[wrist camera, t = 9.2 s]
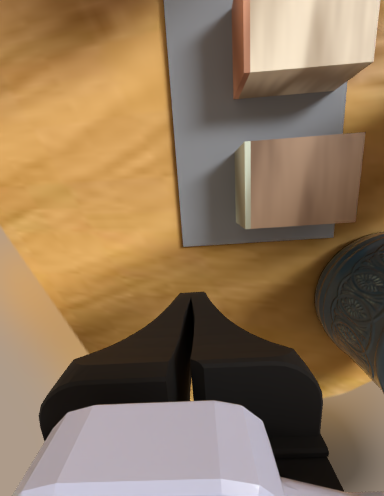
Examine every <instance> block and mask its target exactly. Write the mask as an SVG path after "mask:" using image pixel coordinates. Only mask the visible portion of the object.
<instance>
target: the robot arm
mask: <svg viewBox="0 0 384 496" xmlns="http://www.w3.org/2000/svg"><path fill="white" fill-rule="evenodd" d="M191 377H192V386H193V398H194V401H190V386H191ZM322 406H323V399H322V391H321V389H320V387H319V384H318V382H317V380H316V379H315V377H314V376H313V374H312V373H311V371H310V370H309V368H308V367H307V366H306V364H305V363H304V361H303V360H302V359H301V358H300V357H299V355H298V354H297V353H296V352H295V350H294V349H292V348H288V347H285V346H282V345H279V344H275V343H272V342H269V341H267V340H264V339H262V338H259V337H257V336H255V335H253V334H251V333H249V332H247V331H245V330H244V329H242V328H240V327H238V326H237V325H235V324H234V323H233V322H231V321H230V320H228V319H227V318H226V317H225V316H224V315H223V314H222V313H221V312H220V311H219V310H218V309H217V308H216V307H215V306H214V305H213V304H212V302H211V301H210V300H209V298H208V297H207V295H206V293H204V292H191V293H180V294H179V295H178V296H177V297H176V298H175V300H174V301H173V302H172V303H171V304H170V305H169V306H168V307H167V308H166V310H165V311H163V312H162V313H161V314H160V315H159V316H158V317H157V318H156V319H155V320H153V321H152V322H151V323H150V324H148V325H147V326H145V327H144V328H143V329H141V330H139V331H138V332H136V333H134V334H133V335H131V336H129V337H128V338H126V339H124V340H122V341H120V342H118V343H116V344H114V345H111V346H109V347H107V348H104V349H102V350H100V351H97V352H94V353H91V354H88V355H86V356H83V357H80V358H77V359H74V360H73V362H72V363H71V364H70V365H69V366H68V368H67V369H66V370H65V372H64V373H63V374H62V376H61V377H60V379H59V380H58V381H57V383H56V384H55V385H54V387H53V388H52V389H51V391H50V392H49V394H48V395H47V396H46V398H45V400H44V401H43V403H42V404H41V408H40V413H39V421H40V427H41V431H42V434H43V438H44V441H45V442H44V444H43V445H42V447H41V449H40V450H39V452H38V454H37V455H36V457H35V459H34V460H33V462H32V464H31V466H30V467H29V469H28V470H27V472H26V473H25V475H24V477H23V478H22V480H21V482H20V483H19V485H18V487H17V488H16V490H15V491H14V493H13V495H12V496H384V492H348V493H347V492H344V490H343V488H342V486H341V484H340V482H339V480H338V478H337V476H336V474H335V472H334V470H333V468H332V466H331V464H330V462H329V460H328V458H327V456H328V455H329V451H328V448H327V446H326V444H325V442H324V440H323V438H322V436H321V434H320V428H321V417H322Z"/></svg>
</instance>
